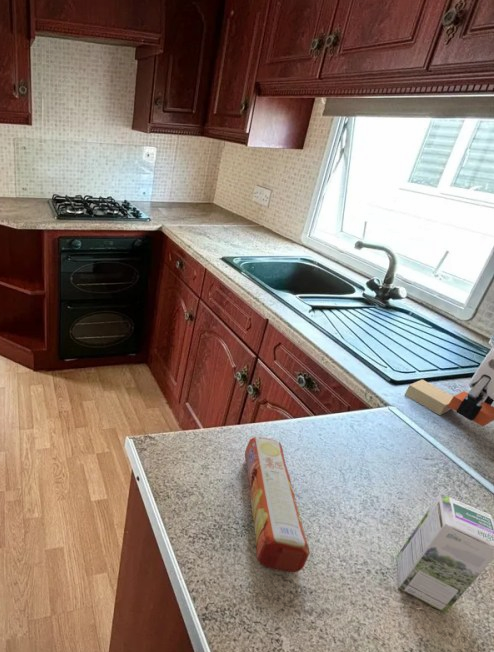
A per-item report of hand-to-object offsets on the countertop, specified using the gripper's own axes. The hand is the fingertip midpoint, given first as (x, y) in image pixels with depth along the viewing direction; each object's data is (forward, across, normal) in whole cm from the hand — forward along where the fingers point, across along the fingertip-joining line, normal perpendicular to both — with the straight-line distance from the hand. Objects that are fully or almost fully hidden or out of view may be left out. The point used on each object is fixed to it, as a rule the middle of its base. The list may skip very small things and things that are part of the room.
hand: (470, 412), depth 90 cm
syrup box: (+4, -49, -15) cm, 51 cm away
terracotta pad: (0, 0, 0) cm, 0 cm away
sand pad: (+3, 0, +8) cm, 8 cm away
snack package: (+4, -60, +4) cm, 60 cm away
